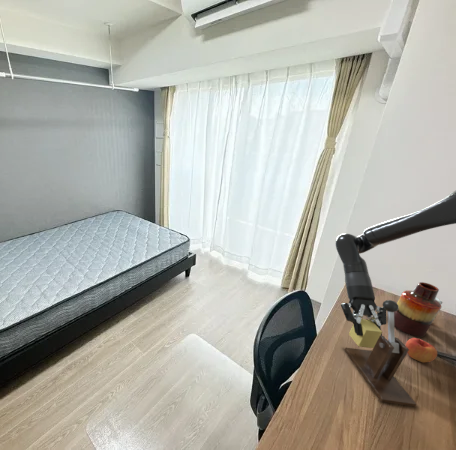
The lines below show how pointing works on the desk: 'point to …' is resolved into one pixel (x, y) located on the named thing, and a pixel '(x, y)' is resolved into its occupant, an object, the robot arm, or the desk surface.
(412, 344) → the apple
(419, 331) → the vase
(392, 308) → the ball knob lever
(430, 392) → the desk surface
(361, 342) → the butter
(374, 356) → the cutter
